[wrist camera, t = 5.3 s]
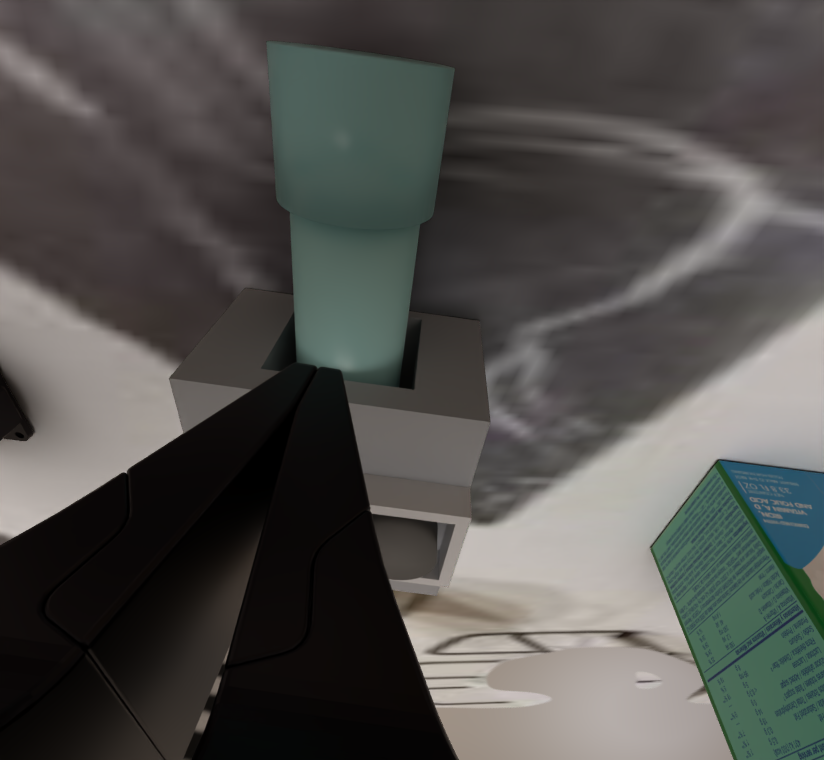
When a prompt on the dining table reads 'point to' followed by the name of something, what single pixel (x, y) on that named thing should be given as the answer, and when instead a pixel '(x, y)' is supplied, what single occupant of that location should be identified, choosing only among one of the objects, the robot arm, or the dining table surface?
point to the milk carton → (754, 604)
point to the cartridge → (355, 195)
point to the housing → (369, 411)
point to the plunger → (406, 546)
